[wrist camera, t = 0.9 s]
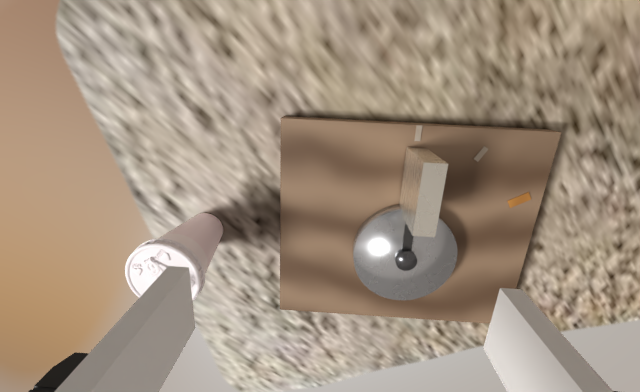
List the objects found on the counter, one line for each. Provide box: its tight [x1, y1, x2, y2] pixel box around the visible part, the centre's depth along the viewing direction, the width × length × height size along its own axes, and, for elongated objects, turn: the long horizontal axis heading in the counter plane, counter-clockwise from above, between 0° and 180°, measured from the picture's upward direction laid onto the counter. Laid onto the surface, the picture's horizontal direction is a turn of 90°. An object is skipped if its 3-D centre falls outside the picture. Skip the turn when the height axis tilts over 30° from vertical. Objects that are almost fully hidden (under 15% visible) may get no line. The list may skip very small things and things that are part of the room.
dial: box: [353, 147, 457, 300], centre depth 29 cm, size 16×10×6 cm, turn 177°
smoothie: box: [125, 213, 223, 301], centre depth 29 cm, size 6×6×14 cm
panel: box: [280, 116, 561, 323], centre depth 33 cm, size 21×25×2 cm
